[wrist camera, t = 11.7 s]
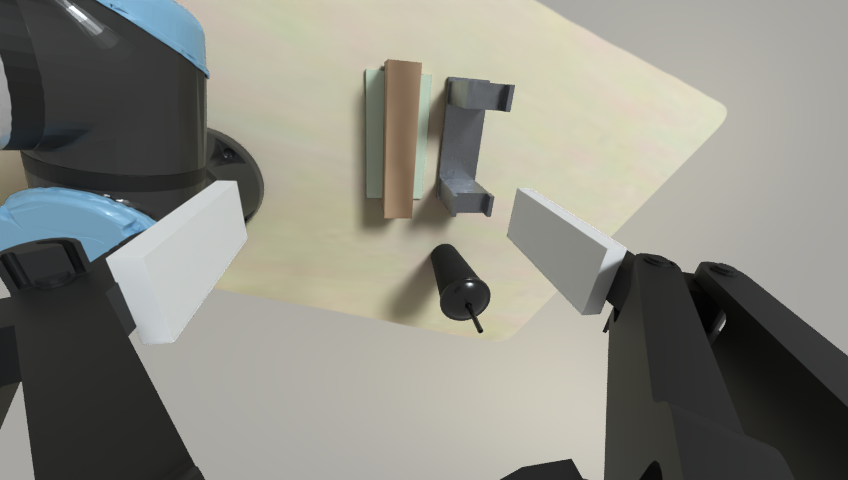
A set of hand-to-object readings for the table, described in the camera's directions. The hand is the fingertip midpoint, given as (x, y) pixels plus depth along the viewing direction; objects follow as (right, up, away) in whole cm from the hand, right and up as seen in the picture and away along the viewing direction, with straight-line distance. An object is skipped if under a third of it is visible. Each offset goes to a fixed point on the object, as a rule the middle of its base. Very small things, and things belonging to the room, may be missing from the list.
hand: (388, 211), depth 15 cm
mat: (-2, +14, +32) cm, 35 cm away
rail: (-2, +13, +31) cm, 34 cm away
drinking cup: (+5, -4, +43) cm, 43 cm away
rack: (+7, +14, +34) cm, 37 cm away
